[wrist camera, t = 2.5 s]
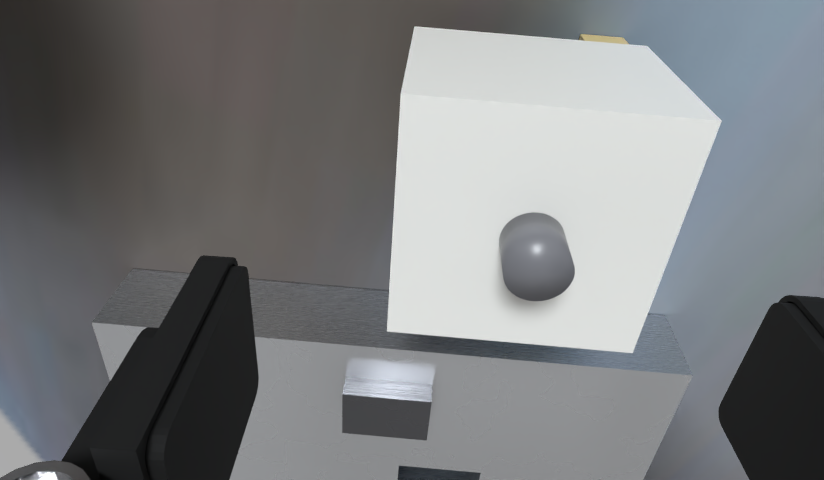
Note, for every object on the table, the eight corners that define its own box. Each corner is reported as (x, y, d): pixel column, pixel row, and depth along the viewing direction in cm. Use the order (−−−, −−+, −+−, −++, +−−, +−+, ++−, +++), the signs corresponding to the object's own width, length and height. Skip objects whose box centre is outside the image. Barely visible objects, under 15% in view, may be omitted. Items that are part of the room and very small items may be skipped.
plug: (631, 30, 16) (749, 148, 10) (582, 214, 20) (646, 391, 13) (417, 12, 16) (395, 118, 10) (404, 199, 20) (382, 367, 13)
